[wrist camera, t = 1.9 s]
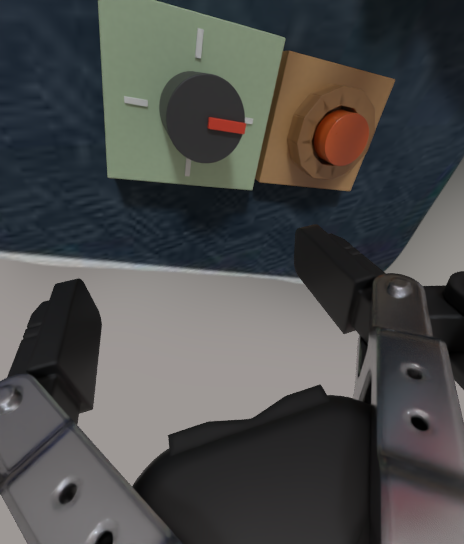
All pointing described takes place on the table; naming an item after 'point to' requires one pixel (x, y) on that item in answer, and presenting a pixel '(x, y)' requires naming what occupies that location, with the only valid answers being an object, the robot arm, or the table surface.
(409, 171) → the table surface
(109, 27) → the green dial box
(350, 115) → the button
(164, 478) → the robot arm
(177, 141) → the knob
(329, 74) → the button box
